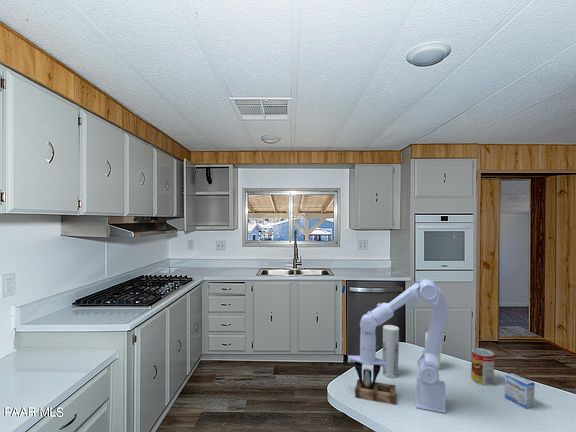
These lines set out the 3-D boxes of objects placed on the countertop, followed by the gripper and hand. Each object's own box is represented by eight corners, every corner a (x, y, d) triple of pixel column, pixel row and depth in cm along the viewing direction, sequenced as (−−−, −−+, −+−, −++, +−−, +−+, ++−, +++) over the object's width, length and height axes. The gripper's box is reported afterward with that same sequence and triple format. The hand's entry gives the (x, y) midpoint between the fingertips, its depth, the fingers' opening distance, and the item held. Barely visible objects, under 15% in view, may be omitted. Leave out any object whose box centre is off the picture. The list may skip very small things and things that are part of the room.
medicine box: (504, 397, 123) (504, 374, 124) (512, 395, 125) (512, 372, 125) (526, 409, 116) (527, 384, 116) (534, 406, 118) (534, 382, 118)
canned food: (481, 375, 141) (481, 347, 141) (498, 384, 133) (498, 354, 133) (466, 377, 138) (467, 349, 138) (483, 387, 131) (483, 356, 131)
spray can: (383, 369, 145) (383, 324, 145) (398, 372, 142) (399, 326, 142) (381, 376, 139) (382, 328, 138) (397, 379, 136) (398, 330, 136)
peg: (370, 392, 126) (371, 369, 126) (371, 396, 123) (371, 372, 123) (362, 391, 126) (363, 368, 126) (363, 396, 123) (363, 372, 123)
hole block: (395, 393, 125) (395, 385, 125) (395, 404, 118) (395, 396, 118) (357, 386, 130) (357, 379, 130) (355, 397, 122) (355, 389, 122)
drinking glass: (427, 363, 152) (427, 330, 152) (443, 367, 148) (443, 333, 148) (422, 368, 147) (423, 334, 147) (439, 373, 142) (439, 338, 142)
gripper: (388, 346, 126) (387, 381, 126) (349, 341, 131) (349, 375, 131) (387, 353, 120) (387, 390, 120) (347, 347, 124) (346, 384, 124)
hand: (367, 383), depth 125 cm, fingers open, 4 cm apart
